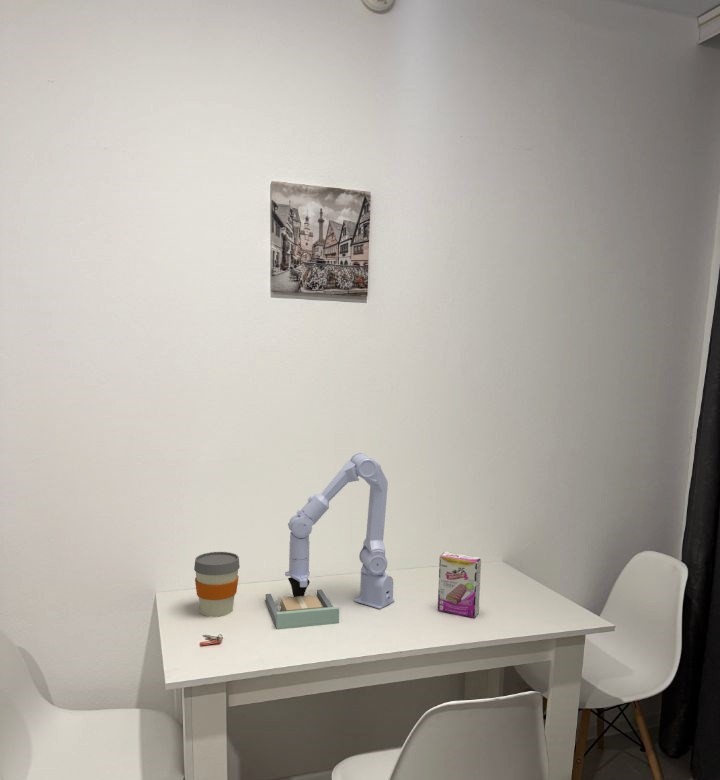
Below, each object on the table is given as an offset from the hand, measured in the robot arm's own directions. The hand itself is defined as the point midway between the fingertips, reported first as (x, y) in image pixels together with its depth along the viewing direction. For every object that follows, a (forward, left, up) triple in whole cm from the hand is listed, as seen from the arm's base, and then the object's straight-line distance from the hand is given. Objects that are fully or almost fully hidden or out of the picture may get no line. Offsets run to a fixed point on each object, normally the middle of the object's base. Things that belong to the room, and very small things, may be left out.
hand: (298, 603), depth 185 cm
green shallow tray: (-3, +2, -1) cm, 4 cm away
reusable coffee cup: (+16, +17, -1) cm, 23 cm away
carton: (-5, +4, -2) cm, 6 cm away
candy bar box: (-38, -26, -1) cm, 46 cm away
